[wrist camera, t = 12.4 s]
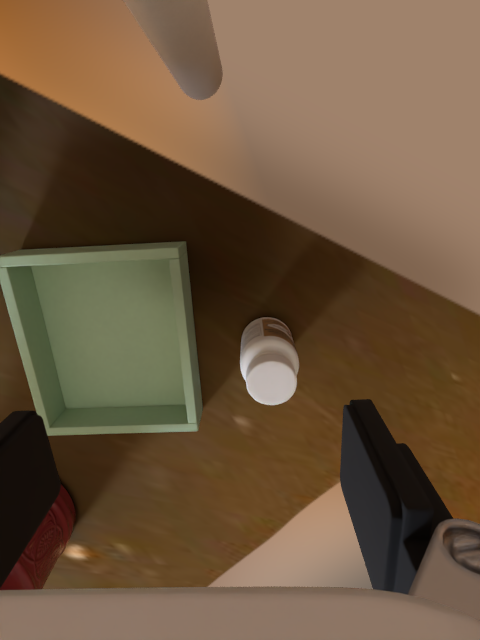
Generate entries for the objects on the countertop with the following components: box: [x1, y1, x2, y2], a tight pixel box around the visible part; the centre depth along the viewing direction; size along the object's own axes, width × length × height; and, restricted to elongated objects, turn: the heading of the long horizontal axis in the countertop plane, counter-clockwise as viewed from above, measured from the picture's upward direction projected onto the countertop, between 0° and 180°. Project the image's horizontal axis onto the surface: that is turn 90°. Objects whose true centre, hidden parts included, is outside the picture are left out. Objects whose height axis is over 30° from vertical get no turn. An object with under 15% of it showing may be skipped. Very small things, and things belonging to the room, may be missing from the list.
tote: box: [0, 241, 203, 436], centre depth 30 cm, size 16×14×3 cm
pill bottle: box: [240, 317, 299, 405], centre depth 28 cm, size 4×4×8 cm
